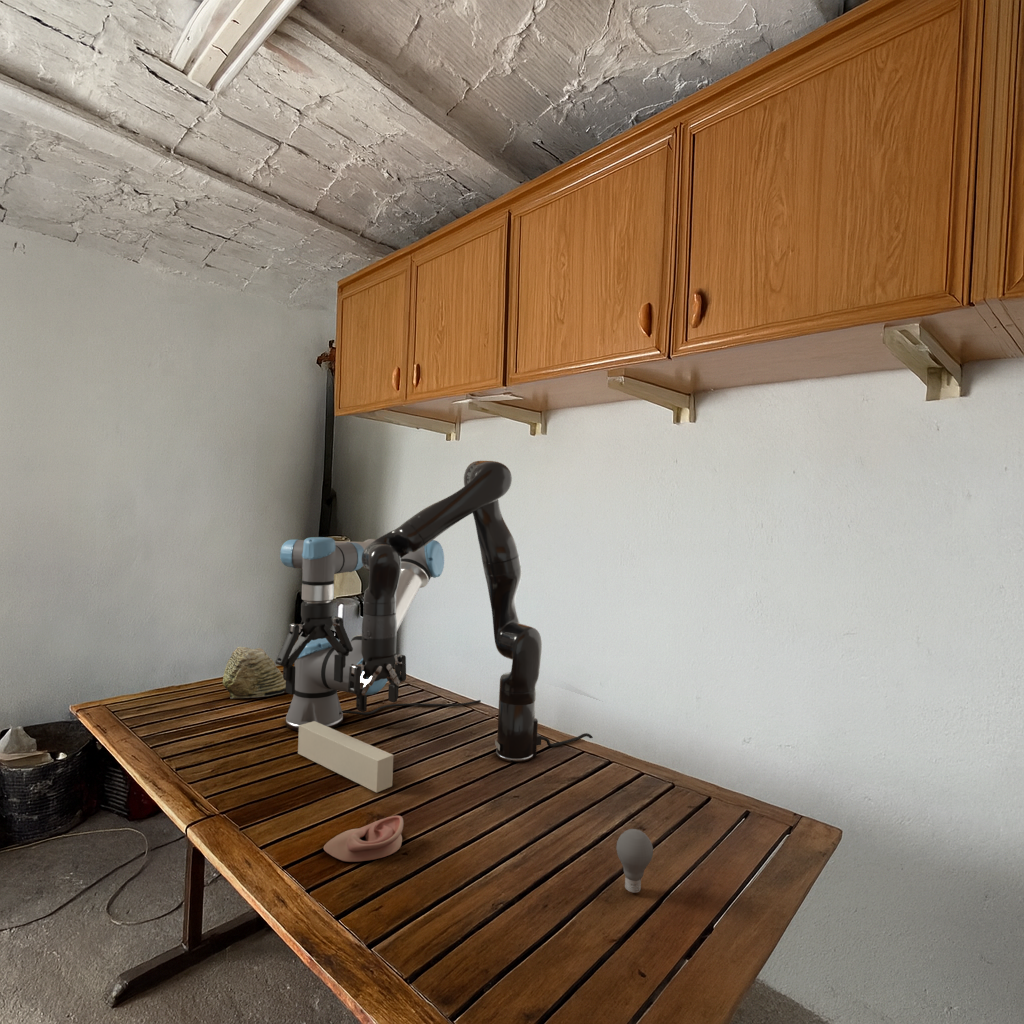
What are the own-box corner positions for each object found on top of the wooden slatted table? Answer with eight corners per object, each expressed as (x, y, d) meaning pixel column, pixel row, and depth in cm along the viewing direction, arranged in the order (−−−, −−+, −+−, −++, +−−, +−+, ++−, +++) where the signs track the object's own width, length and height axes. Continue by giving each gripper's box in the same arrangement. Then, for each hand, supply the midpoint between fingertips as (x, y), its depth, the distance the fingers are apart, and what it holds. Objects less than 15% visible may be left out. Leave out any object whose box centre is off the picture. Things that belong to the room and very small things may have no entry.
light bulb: (610, 879, 108) (613, 822, 108) (644, 879, 109) (647, 822, 109) (619, 902, 102) (622, 840, 102) (655, 901, 103) (658, 840, 103)
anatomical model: (315, 834, 111) (345, 804, 122) (314, 856, 111) (344, 824, 123) (386, 846, 109) (410, 814, 120) (385, 869, 109) (409, 834, 120)
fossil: (218, 695, 195) (220, 647, 195) (278, 685, 208) (279, 640, 207) (228, 703, 189) (230, 653, 188) (289, 692, 201) (290, 645, 201)
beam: (297, 753, 155) (298, 725, 155) (313, 748, 159) (314, 720, 159) (376, 792, 137) (377, 760, 136) (392, 786, 140) (393, 754, 140)
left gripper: (350, 593, 167) (347, 673, 167) (261, 604, 147) (259, 694, 148) (368, 597, 162) (365, 679, 163) (279, 609, 142) (276, 702, 143)
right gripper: (393, 626, 147) (391, 695, 148) (341, 635, 136) (340, 710, 137) (415, 631, 143) (413, 702, 143) (363, 641, 132) (362, 718, 132)
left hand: (315, 687), depth 155 cm, fingers open, 13 cm apart
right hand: (377, 706), depth 140 cm, fingers open, 8 cm apart
